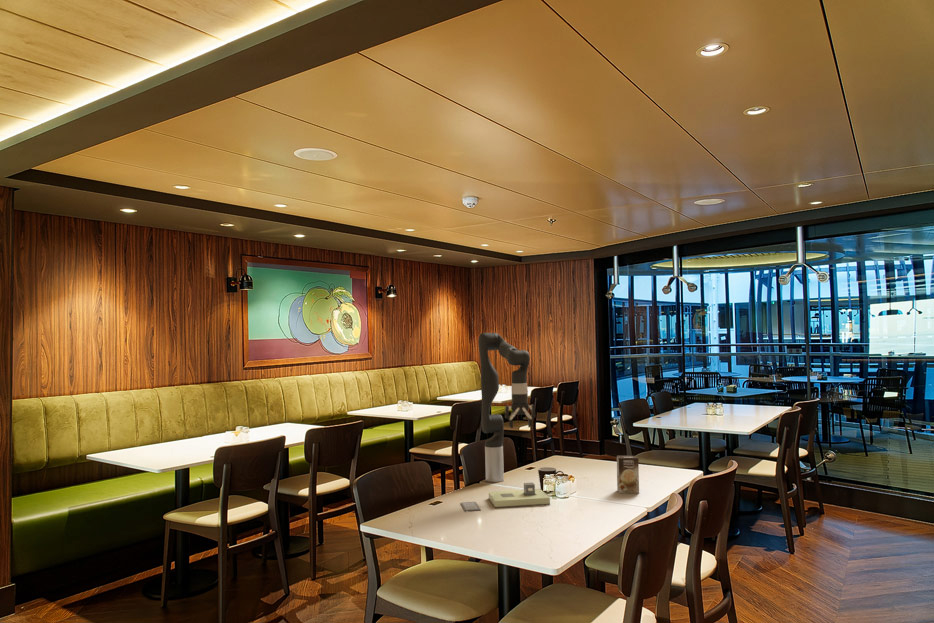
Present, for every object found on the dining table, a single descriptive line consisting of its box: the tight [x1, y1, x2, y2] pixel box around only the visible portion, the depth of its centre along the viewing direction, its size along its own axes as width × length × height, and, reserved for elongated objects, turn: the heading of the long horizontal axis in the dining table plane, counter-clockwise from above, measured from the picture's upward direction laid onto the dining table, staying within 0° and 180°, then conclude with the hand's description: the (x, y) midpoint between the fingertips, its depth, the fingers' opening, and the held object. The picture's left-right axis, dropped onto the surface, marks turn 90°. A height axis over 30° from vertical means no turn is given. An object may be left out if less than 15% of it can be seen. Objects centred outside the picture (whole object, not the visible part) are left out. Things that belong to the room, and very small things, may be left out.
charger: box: [523, 482, 536, 496], centre depth 265 cm, size 4×4×7 cm
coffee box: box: [616, 455, 640, 494], centre depth 278 cm, size 9×6×16 cm
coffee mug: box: [537, 466, 565, 491], centre depth 283 cm, size 12×9×10 cm
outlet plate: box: [488, 488, 551, 509], centre depth 265 cm, size 16×24×3 cm, turn 97°
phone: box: [460, 501, 481, 512], centre depth 258 cm, size 13×7×1 cm, turn 9°
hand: (520, 427), depth 282 cm, fingers open, 8 cm apart
